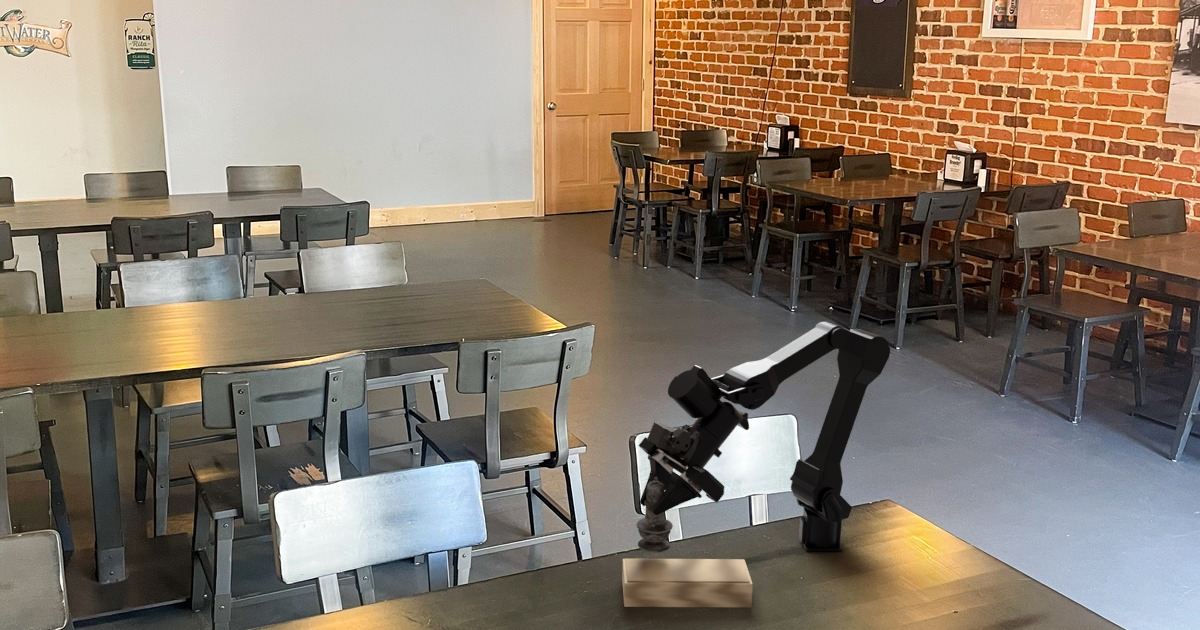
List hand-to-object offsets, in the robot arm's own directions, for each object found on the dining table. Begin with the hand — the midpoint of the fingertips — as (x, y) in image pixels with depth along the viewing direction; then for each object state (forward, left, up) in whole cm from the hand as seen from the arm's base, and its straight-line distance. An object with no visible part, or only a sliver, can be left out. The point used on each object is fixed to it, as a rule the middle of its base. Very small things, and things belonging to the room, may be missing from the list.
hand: (647, 508), depth 173 cm
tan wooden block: (-6, +3, -13) cm, 15 cm away
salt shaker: (-1, -1, -7) cm, 7 cm away
